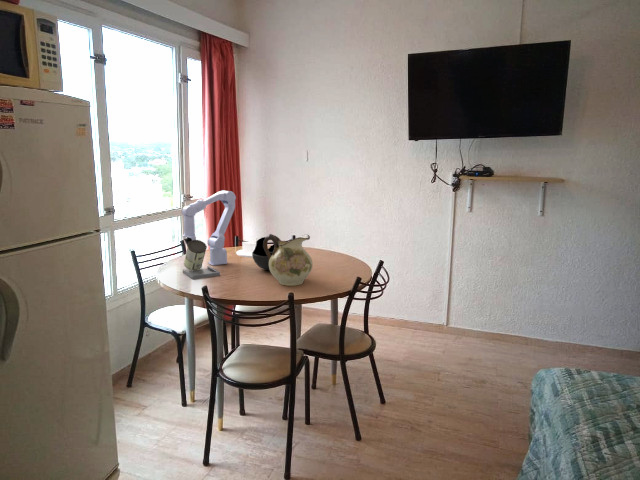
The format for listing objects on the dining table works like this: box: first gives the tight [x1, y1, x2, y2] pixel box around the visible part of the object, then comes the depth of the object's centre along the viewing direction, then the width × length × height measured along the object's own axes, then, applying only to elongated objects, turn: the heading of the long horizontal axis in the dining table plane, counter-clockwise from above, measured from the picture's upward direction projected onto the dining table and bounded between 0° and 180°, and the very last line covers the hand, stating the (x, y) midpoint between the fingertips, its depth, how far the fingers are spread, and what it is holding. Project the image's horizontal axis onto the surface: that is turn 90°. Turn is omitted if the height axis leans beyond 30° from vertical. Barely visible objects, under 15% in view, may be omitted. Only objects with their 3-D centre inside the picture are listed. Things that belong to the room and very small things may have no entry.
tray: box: [182, 265, 221, 280], centre depth 249 cm, size 15×16×2 cm
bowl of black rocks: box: [252, 236, 279, 271], centre depth 257 cm, size 20×20×19 cm
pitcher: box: [263, 233, 313, 287], centre depth 232 cm, size 22×24×25 cm
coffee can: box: [183, 239, 208, 271], centre depth 255 cm, size 10×10×14 cm
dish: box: [236, 236, 263, 258], centre depth 300 cm, size 25×25×11 cm
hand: (190, 250), depth 260 cm, fingers closed
